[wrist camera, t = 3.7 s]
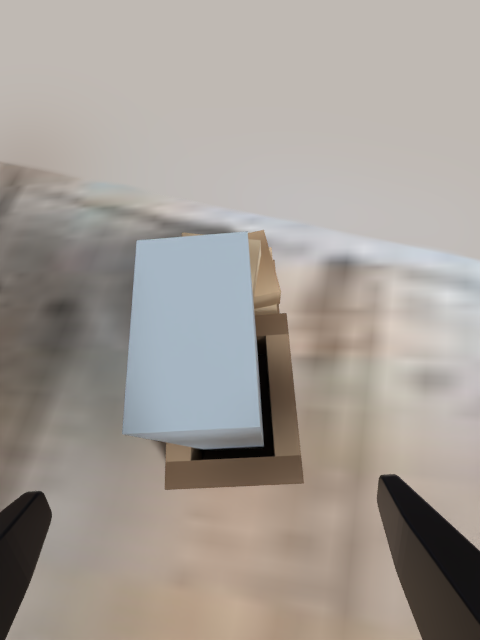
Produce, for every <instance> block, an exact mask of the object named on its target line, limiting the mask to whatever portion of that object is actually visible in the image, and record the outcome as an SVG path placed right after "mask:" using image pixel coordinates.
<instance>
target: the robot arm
mask: <svg viewBox="0 0 480 640" xmlns="http://www.w3.org/2000/svg"><path fill="white" fill-rule="evenodd" d="M377 503H378V508H379V512H380V515H381V519H382V522H383V526H384V530H385V533H386V537H387V540H388V544H389V548H390V551H391V555H392V558H393V562H394V565H395V569H396V572H397V574H398V577H399V580H400V583H401V585H402V588H403V591H404V593H405V596H406V598H407V601H408V603H409V606H410V609H411V611H412V614H413V616H414V619H415V622H416V624H417V627H418V629H419V632H420V634H421V637H422V640H480V551H479V550H478V549H477V548H476V547H475V546H474V545H473V544H472V543H471V542H470V541H468V540H467V539H466V538H465V537H464V536H463V535H462V534H461V533H460V532H459V531H458V530H456V529H455V528H454V527H453V526H452V525H451V524H450V523H449V522H448V521H447V520H446V519H444V518H443V517H442V516H441V515H440V514H439V513H438V512H437V511H436V510H435V509H434V508H432V507H431V506H430V505H429V504H428V503H427V502H426V501H425V500H424V499H423V498H422V497H420V496H419V495H418V494H417V493H416V492H415V491H414V490H413V489H412V488H411V487H410V486H408V485H407V484H406V483H405V482H404V481H403V480H402V479H401V478H400V477H399V476H397V475H395V474H388V475H381V476H380V477H379V482H378V492H377ZM51 518H52V512H51V509H50V507H49V504H48V502H47V499H46V497H45V495H44V493H43V492H41V491H31V492H26V493H24V494H23V495H21V496H20V497H19V498H18V499H16V500H15V501H14V502H12V503H11V504H10V505H9V506H7V507H6V508H5V509H4V510H2V511H1V512H0V640H5V639H6V637H7V634H8V632H9V630H10V628H11V625H12V623H13V621H14V618H15V616H16V614H17V612H18V609H19V607H20V605H21V602H22V600H23V598H24V596H25V593H26V591H27V588H28V586H29V584H30V581H31V578H32V576H33V573H34V570H35V567H36V564H37V561H38V558H39V555H40V552H41V549H42V546H43V543H44V540H45V537H46V535H47V532H48V529H49V526H50V523H51Z"/></svg>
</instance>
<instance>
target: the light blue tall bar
mask: <svg viewBox="0 0 480 640" xmlns="http://www.w3.org/2000/svg"><path fill="white" fill-rule="evenodd" d="M122 434H124V435H129V436H135V437H140V438H145V439H151V440H156V441H161V442H167V443H172V444H177V445H183V446H188V447H193V448H199V449H204V450H209V451H220V450H239V449H259V448H264V437H263V423H262V408H261V393H260V378H259V363H258V351H257V339H256V327H255V315H254V303H253V291H252V279H251V267H250V255H249V243H248V232H235V233H222V234H210V235H197V236H185V237H173V238H160V239H148V240H137V243H136V256H135V270H134V283H133V297H132V310H131V323H130V337H129V350H128V364H127V377H126V391H125V404H124V417H123V431H122Z"/></svg>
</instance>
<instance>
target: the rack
mask: <svg viewBox="0 0 480 640" xmlns="http://www.w3.org/2000/svg"><path fill="white" fill-rule="evenodd" d="M273 265H274V268H275V261H274V260H273ZM255 327H256V339H257V351H258V355H259V354H266V361H267V374H268V387H269V401H270V414H271V427H272V440H273V453H274V456H273V457H253V458H233V459H213V460H203V449H199V448H193V447H188V446H183V445H177V444H172V443H167V442H166V465H165V490H171V489H192V488H214V487H236V486H258V485H279V484H301V483H304V480H303V470H302V461H301V451H300V441H299V431H298V422H297V412H296V402H295V392H294V383H293V373H292V363H291V353H290V344H289V334H288V324H287V314H286V313H282V314H279V304H277V314H268V315H255Z"/></svg>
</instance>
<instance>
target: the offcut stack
mask: <svg viewBox="0 0 480 640" xmlns="http://www.w3.org/2000/svg"><path fill="white" fill-rule="evenodd" d="M197 235H201V234H191V233H182V236H181V237H185V236H197ZM248 243H249V255H250V267H251V279H252V291H253V303H254V315H268V314H277V304H280V295H281V290H280V286H279V283H278V279H277V276H276V272H275V268H274V265H273V259H272V249H271V248H269V247H268V243H267V240H266V236H265V233H264V230H261V231H257V232H252V233H248Z"/></svg>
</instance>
